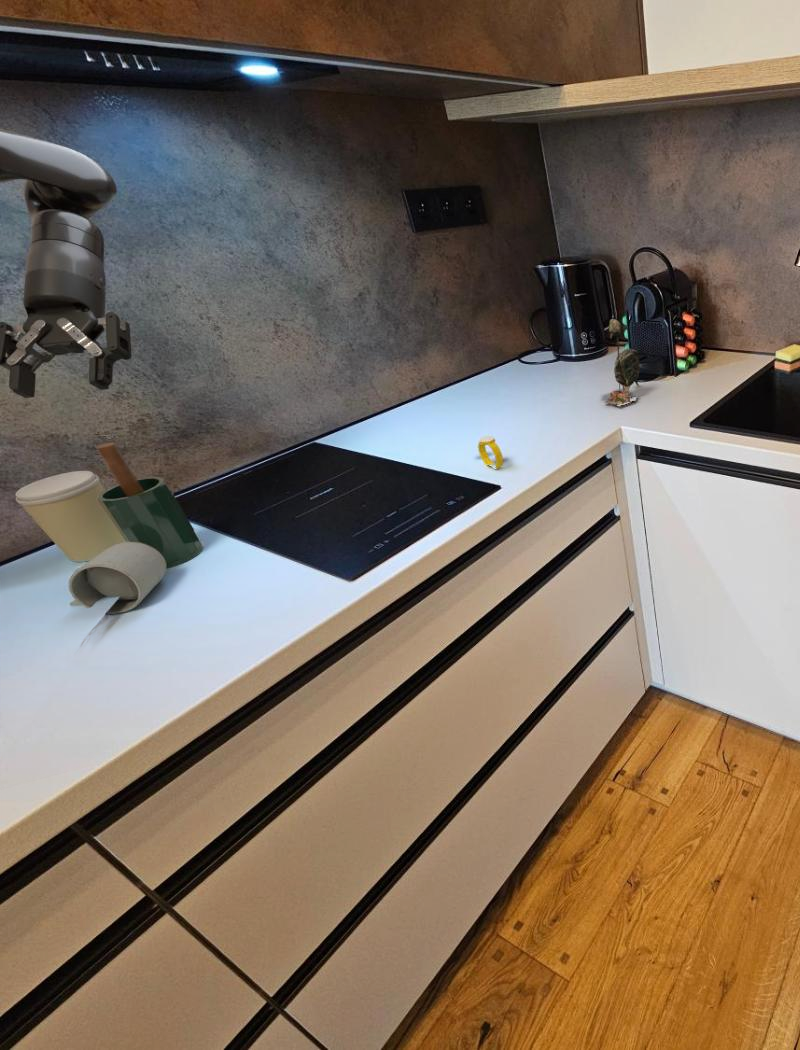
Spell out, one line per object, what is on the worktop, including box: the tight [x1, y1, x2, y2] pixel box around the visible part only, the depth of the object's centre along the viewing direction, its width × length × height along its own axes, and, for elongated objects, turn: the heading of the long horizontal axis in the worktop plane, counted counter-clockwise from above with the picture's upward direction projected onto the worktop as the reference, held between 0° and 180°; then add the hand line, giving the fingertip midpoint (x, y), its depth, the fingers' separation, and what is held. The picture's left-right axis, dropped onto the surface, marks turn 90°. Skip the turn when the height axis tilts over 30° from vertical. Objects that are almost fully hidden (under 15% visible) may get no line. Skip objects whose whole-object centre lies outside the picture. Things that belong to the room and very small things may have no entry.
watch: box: [477, 435, 504, 469], centre depth 112 cm, size 6×3×6 cm, turn 51°
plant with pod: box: [604, 318, 641, 406], centre depth 138 cm, size 8×11×20 cm
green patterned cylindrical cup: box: [98, 476, 205, 569], centre depth 88 cm, size 8×8×12 cm
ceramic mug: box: [68, 542, 167, 615], centre depth 80 cm, size 11×8×8 cm
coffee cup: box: [15, 470, 126, 563], centre depth 92 cm, size 9×9×12 cm
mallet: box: [95, 442, 144, 497], centre depth 87 cm, size 4×4×18 cm
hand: (61, 390), depth 77 cm, fingers open, 8 cm apart
